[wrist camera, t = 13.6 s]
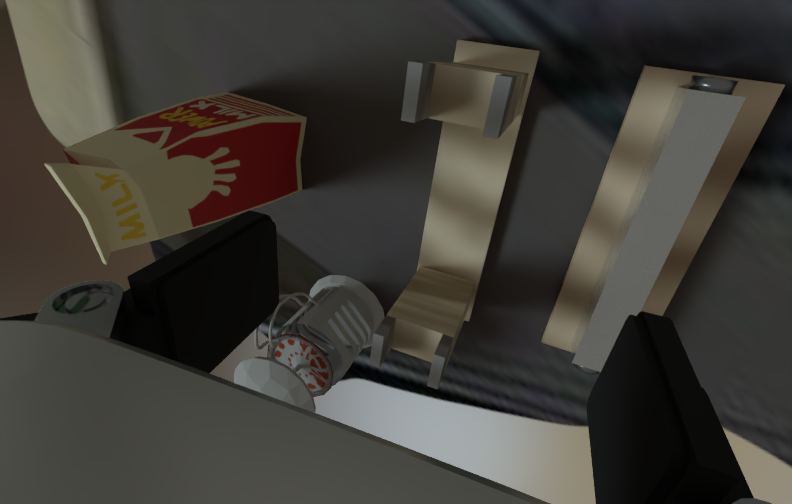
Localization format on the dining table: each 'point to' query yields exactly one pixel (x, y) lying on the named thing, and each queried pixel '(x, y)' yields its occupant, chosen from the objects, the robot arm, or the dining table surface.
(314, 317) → the french press
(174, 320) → the robot arm
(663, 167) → the rail
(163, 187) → the milk carton
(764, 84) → the wooden board
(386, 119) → the dining table surface
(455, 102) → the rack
